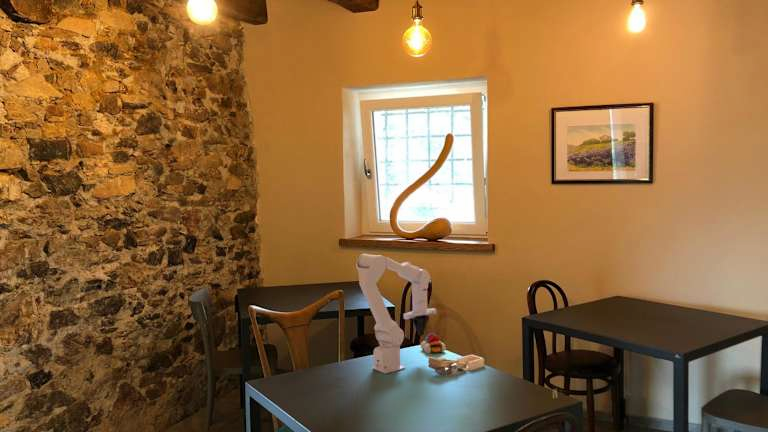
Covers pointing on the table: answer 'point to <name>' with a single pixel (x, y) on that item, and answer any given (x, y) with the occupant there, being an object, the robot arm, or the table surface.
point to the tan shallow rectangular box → (471, 362)
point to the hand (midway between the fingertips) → (420, 334)
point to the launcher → (444, 363)
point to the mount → (450, 370)
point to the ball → (473, 358)
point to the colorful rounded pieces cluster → (432, 344)
